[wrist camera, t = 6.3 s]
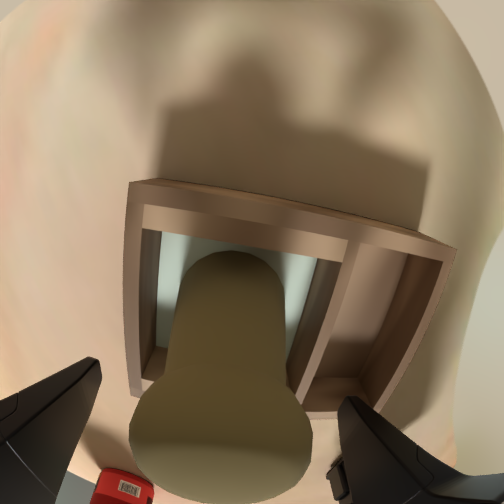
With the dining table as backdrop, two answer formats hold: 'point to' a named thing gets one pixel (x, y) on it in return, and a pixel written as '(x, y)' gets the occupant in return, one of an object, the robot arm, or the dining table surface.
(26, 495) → the robot arm
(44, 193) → the dining table surface
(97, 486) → the canned food
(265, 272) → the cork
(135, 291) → the socket box
